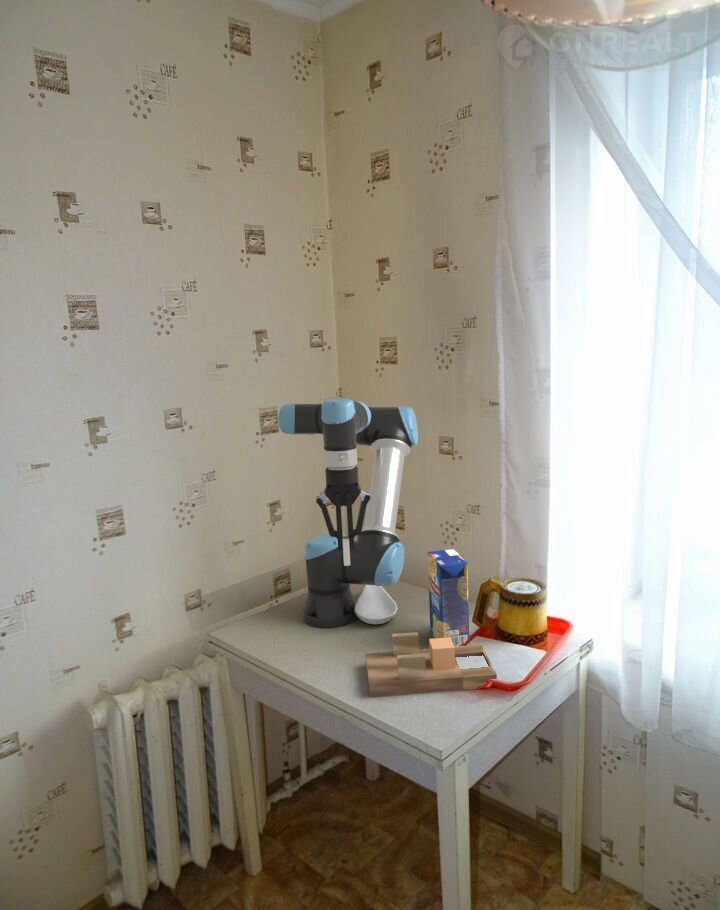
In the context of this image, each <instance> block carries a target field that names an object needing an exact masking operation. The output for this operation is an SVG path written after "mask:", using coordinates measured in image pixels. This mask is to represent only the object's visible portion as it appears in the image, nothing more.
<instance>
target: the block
mask: <svg viewBox="0 0 720 910" xmlns="http://www.w3.org/2000/svg"><path fill="white" fill-rule="evenodd" d="M428 641H429V643H428V644H429V645H428V647H429V648H428V649H429V650H430V661H431V664H432V667H433V670H437V669H450V668H455V647H454V644H453V642H452V640H451V637H448V638H428Z"/></svg>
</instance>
